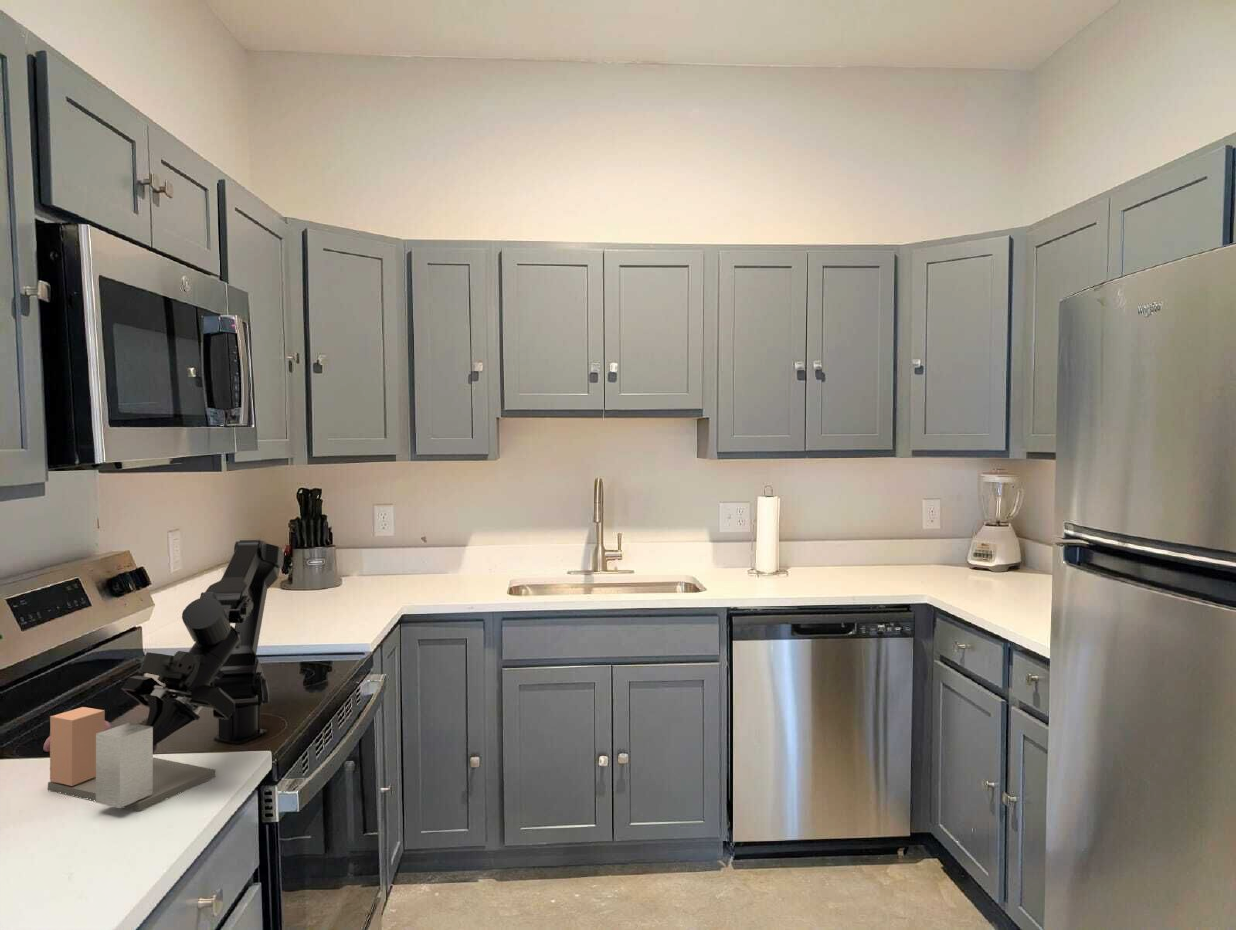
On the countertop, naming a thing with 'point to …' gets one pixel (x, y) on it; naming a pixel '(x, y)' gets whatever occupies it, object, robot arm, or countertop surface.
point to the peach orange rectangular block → (74, 745)
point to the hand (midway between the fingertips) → (143, 748)
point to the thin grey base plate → (165, 783)
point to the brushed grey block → (124, 764)
